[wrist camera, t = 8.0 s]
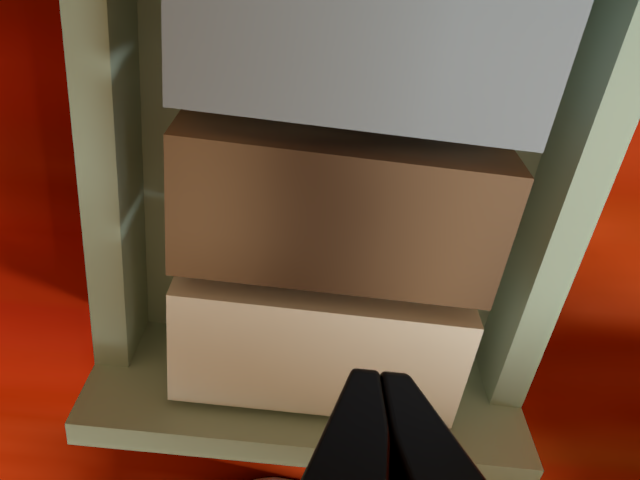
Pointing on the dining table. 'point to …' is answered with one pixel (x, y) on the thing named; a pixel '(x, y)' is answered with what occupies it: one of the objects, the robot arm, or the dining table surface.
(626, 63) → the key bed
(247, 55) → the grey flat block
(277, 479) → the ceramic mug
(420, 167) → the brown rectangular block
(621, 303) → the dining table surface
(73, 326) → the dining table surface
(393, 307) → the ivory key
